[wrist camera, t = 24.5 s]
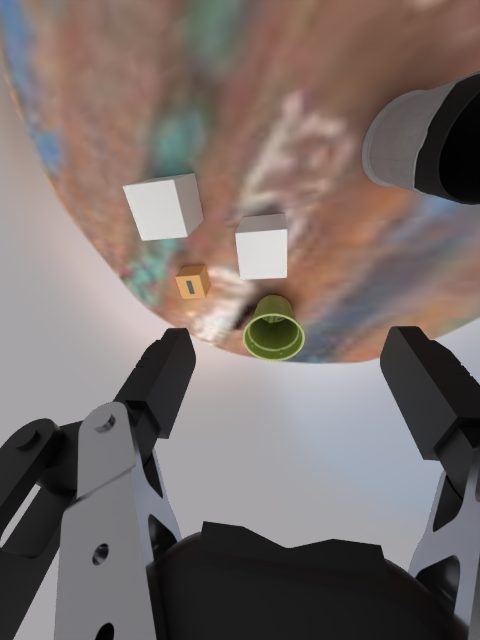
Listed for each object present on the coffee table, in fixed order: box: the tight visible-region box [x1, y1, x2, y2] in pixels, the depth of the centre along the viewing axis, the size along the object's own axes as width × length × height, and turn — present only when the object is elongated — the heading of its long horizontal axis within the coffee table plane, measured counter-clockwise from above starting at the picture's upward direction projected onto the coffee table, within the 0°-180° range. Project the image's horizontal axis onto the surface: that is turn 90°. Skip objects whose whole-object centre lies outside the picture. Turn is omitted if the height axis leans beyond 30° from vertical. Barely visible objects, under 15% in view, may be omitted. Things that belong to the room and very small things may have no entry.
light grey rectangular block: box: [235, 213, 287, 280], centre depth 31 cm, size 6×6×8 cm
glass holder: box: [361, 71, 480, 205], centre depth 20 cm, size 9×14×15 cm, turn 90°
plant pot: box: [243, 295, 305, 361], centre depth 39 cm, size 9×9×9 cm
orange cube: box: [175, 265, 211, 299], centre depth 38 cm, size 4×4×4 cm
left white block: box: [123, 173, 204, 241], centre depth 30 cm, size 6×6×8 cm
